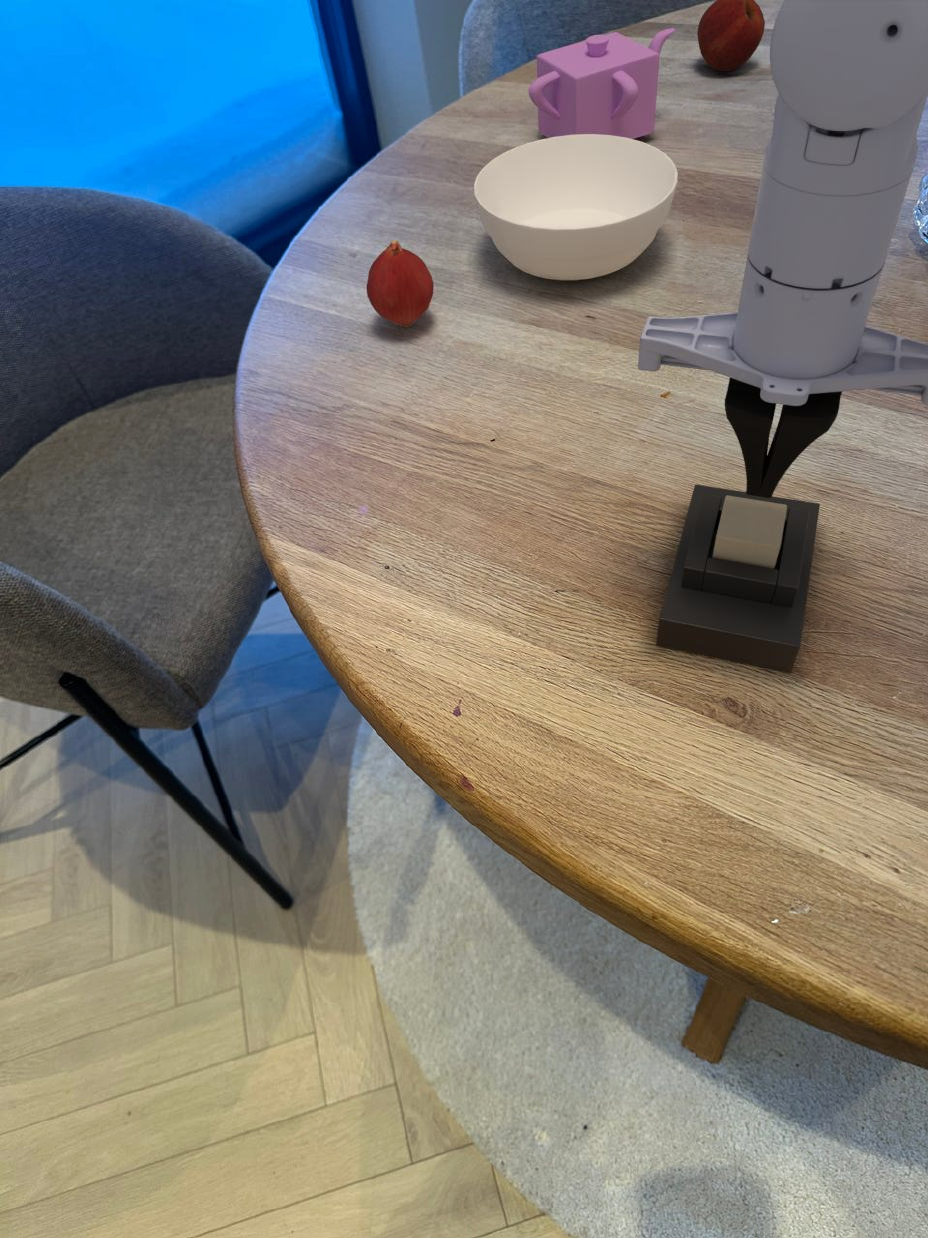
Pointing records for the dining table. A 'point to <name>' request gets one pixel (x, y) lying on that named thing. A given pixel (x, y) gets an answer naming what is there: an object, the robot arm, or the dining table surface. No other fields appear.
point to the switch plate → (738, 589)
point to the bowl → (575, 203)
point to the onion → (399, 285)
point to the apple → (730, 33)
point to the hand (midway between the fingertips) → (760, 484)
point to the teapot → (598, 87)
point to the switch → (750, 532)
